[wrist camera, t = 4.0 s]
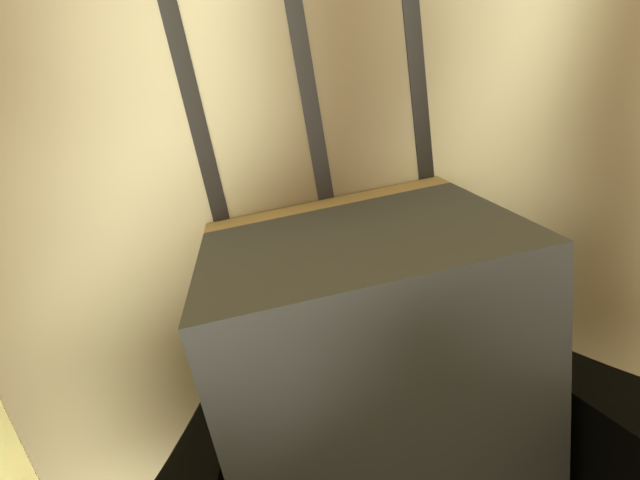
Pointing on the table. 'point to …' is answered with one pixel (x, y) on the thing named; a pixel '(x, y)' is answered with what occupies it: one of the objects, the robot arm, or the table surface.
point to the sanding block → (384, 339)
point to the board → (277, 173)
